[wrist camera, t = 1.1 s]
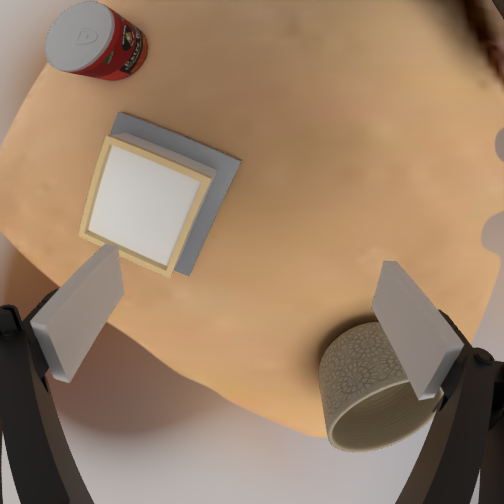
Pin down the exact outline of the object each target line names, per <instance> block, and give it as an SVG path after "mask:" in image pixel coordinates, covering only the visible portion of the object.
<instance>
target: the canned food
mask: <svg viewBox="0 0 504 504" xmlns="http://www.w3.org/2000/svg"><path fill="white" fill-rule="evenodd" d="M146 53H147V42H146V38H145V36H144V34H143V33H142V32H141V31H140V30H139V29H138V28H137V27H135V26H134V25H132V24H131V23H130V22H128V21H127V20H126V19H124V18H123V17H122V16H120V15H119V14H117V13H116V12H115V11H113V10H112V9H110V8H109V7H107V6H106V5H104V4H101V3H99V2H95V1H85V2H81V3H78V4H76V5H74V6H71V7H70V8H68V9H67V10H66V11H64V12H63V13H62V14H61V15H60V16H59V17H58V18H57V19H56V21H55V22H54V23H53V25H52V26H51V28H50V30H49V32H48V35H47V38H46V42H45V54H46V58H47V60H48V62H49V63H50V64H51V66H52V67H54V68H56V69H58V70H60V71H64V72H69V73H73V74H79V75H84V76H89V77H94V78H99V79H104V80H119V79H122V78H125V77H127V76H129V75H131V74H132V73H134V72H135V71H136V70H137V69H138V68H139V67H140V66H141V64H142V63H143V61H144V59H145V57H146Z"/></svg>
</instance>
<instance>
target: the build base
mask: <svg viewBox="0 0 504 504" xmlns="http://www.w3.org/2000/svg"><path fill="white" fill-rule="evenodd" d="M241 161H242V160H240V159H237V158H235V157H233V156H231V155H228V154H226V153H224V152H222V151H219V150H217V149H215V148H213V147H210V146H208V145H206V144H203V143H201V142H199V141H196V140H194V139H191V138H189V137H187V136H184V135H182V134H179V133H177V132H174V131H172V130H169V129H167V128H164V127H162V126H159V125H157V124H154V123H151V122H149V121H146V120H143V119H141V118H138V117H135V116H133V115H130V114H127V113H124V112H118V115H117V117H116V120H115V123H114V125H113V128H112V131H111V134H110V135H106V137H105V140H104V143H103V146H102V149H101V152H100V155H99V158H98V161H97V165H96V168H95V171H94V175H93V178H92V182H91V185H90V189H89V193H88V197H87V201H86V205H85V209H84V213H83V217H82V222H81V226H80V231H79V236H80V237H82V238H84V239H86V240H88V241H90V242H92V243H94V244H96V245H98V246H100V247H102V246H103V245H104V244H112V245H118V250H119V256H121V257H123V258H126V259H128V260H130V261H132V262H134V263H136V264H139V265H141V266H143V267H145V268H147V269H150V270H152V271H154V272H156V273H159V274H161V275H163V276H165V277H168V278H170V277H171V275H172V273H173V271H174V270H176V271H178V272H180V273H182V274H185V275H187V276H190V273H191V271H192V269H193V266H194V264H195V262H196V259H197V257H198V255H199V252H200V250H201V248H202V246H203V243H204V241H205V239H206V237H207V234H208V232H209V230H210V228H211V225H212V223H213V221H214V219H215V217H216V214H217V212H218V210H219V208H220V206H221V204H222V201H223V199H224V197H225V195H226V193H227V191H228V189H229V187H230V184H231V182H232V180H233V178H234V176H235V174H236V172H237V170H238V168H239V166H240V163H241Z"/></svg>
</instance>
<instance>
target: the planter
mask: <svg viewBox="0 0 504 504" xmlns="http://www.w3.org/2000/svg"><path fill="white" fill-rule="evenodd" d="M319 387H320V393H321V398H322V405H323V412H324V418H325V424H326V430H327V435H328V439H329V442H330V443H331V444H332V445H333V446H334V447H336V448H337V449H340V450H342V451H347V452H368V451H373V450H378V449H382V448H385V447H388V446H391V445H393V444H396V443H398V442H400V441H402V440H404V439H406V438H408V437H409V436H411V435H413V434H414V433H416V432H417V431H419V430H420V429H421V428H422V427H424V426H425V425H426V424H427V423H428V422H429V421H430V420H431V419H432V418H433V417H434V416H435V413H436V411H435V412H432V411H433V409H434V408H435V406H436V405H437V403H438V402H439V400H440V399H441V397H442V396H443V394H444V392H443V390H442V388H441V387H440V388H439V390H438V392H437V393H436V395H435V396H434V398H429V399H423V400H418V398H417V396H416V394H415V391H414V389H413V387H412V385H411V383H410V381H409V379H408V377H407V375H406V373H405V371H404V369H403V367H402V365H401V363H400V361H399V359H398V357H397V355H396V353H395V351H394V349H393V347H392V345H391V343H390V341H389V339H388V337H387V336H386V334H385V332H384V330H383V328H382V326H381V324H380V322H369V323H364V324H361V325H358V326H355V327H353V328H351V329H349V330H347V331H346V332H344V333H343V334H341V335H340V336H339V337H337V338H336V339H335V340H334V341H333V342H332V343H331V344H330V346H329V347H328V348H327V350H326V351H325V353H324V355H323V357H322V359H321V362H320V366H319ZM436 410H437V409H436Z"/></svg>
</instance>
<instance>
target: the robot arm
mask: <svg viewBox="0 0 504 504" xmlns="http://www.w3.org/2000/svg"><path fill="white" fill-rule="evenodd" d="M492 1H493V3H494V4H495V6H496V7H497V9H498V11H499V12H500V14H501V15H502V17H503V19H504V0H492ZM123 295H124V287H123V280H122V274H121V266H120V259H119V250H118V245H112V244H104V245H103V246H102V247H101V248H100V249H99V250H98V251H97V252H96V253H95V254H94V255H93V256H92V257H90V258H89V259H88V260H87V261H86V262H85V263H84V264H83V265H82V266H81V267H80V268H79V269H78V270H77V271H76V272H75V273H74V274H73V275H72V276H71V277H70V278H69V279H68V281H67V282H66V283H65V284H64V285H63V286H62V287H61V288H60V289H55V290H54V291H52V292H51V293H49V294H47V295H46V296H45V297H44V299H43V300H42V301H41V302H40V303H39V304H38V305H37V306H36V308H34V309H33V310H32V311H31V313H30V314H29V315H28V316H27V317H26V318H25V319H24V320H23V321H22V320H21V318H20V315H19V312H18V309H17V307H15V306H14V305H3V306H0V504H3V499H2V477H1V454H2V451H1V450H2V432H3V435H4V440H5V446H6V450H7V455H8V460H9V464H10V468H11V472H12V476H13V479H14V483H15V486H16V490H17V493H18V496H19V499H20V502H21V504H94V502H93V500H92V498H91V496H90V494H89V492H88V490H87V488H86V486H85V484H84V482H83V480H82V478H81V476H80V473H79V471H78V468H77V466H76V464H75V461H74V459H73V456H72V454H71V451H70V449H69V446H68V444H67V441H66V438H65V436H64V433H63V430H62V427H61V424H60V421H59V418H58V415H57V412H56V409H55V405H54V402H53V398H52V395H51V392H50V387H49V383H48V380H47V378H46V376H45V373H46V372H47V370H48V368H49V369H50V371H51V373H52V375H53V377H54V378H55V379H58V380H61V381H65V382H68V383H70V381H71V379H72V378H73V376H74V374H75V372H76V371H77V369H78V367H79V365H80V364H81V362H82V360H83V359H84V357H85V355H86V354H87V352H88V350H89V348H90V347H91V345H92V343H93V342H94V340H95V339H96V337H97V335H98V334H99V332H100V330H101V329H102V327H103V326H104V324H105V322H106V321H107V319H108V318H109V316H110V315H111V313H112V311H113V310H114V308H115V307H116V305H117V304H118V302H119V301H120V299H121V298H122V296H123ZM371 308H372V310H373V311H374V313H375V315H376V317H377V319H378V321H379V322H380V324H381V326H382V328H383V330H384V332H385V334H386V336H387V337H388V339H389V341H390V343H391V345H392V347H393V349H394V351H395V353H396V355H397V357H398V359H399V361H400V363H401V365H402V367H403V369H404V371H405V373H406V375H407V377H408V379H409V381H410V383H411V385H412V387H413V389H414V391H415V394H416V396H417V398H418V400H423V399H429V398H434V396H435V395H436V393H437V392H438V390H439V388H440V387H441V388H442V390H443V392H444V394H443V396H442V397H441V399H440V400H439V402H438V403H437V405H436V406H435V408H434V409H433V411H432V412H435V411H436V413H435V416H434V419H433V422H432V425H431V427H430V430H429V432H428V435H427V438H426V440H425V442H424V445H423V447H422V450H421V452H420V455H419V457H418V459H417V461H416V463H415V466H414V468H413V470H412V472H411V474H410V476H409V478H408V480H407V482H406V484H405V486H404V488H403V490H402V492H401V494H400V496H399V498H398V499H397V501H396V503H395V504H470V501H471V498H472V495H473V492H474V488H475V485H476V481H477V478H478V474H479V470H480V488H479V489H480V490H479V502H478V504H504V362H500V361H495V360H494V358H493V356H492V355H491V354H490V353H489V352H487V351H486V350H484V349H481V348H473V347H472V346H471V345H470V343H469V342H468V341H467V339H466V338H465V337H464V335H463V334H462V333H461V332H460V330H458V328H457V326H456V325H455V324H454V323H453V321H452V320H451V319H450V318H449V316H448V315H446V314H445V313H444V312H442V311H441V310H437V308H436V307H435V306H434V305H433V303H432V302H431V301H430V300H429V299H428V297H427V296H426V295H425V294H424V293H423V291H422V290H421V289H420V288H419V287H418V285H417V284H416V283H415V282H414V281H413V280H412V278H411V277H410V276H409V275H408V274H407V273H406V271H405V270H404V269H403V268H402V267H401V266H400V265H399V264H398V262H396V261H384V262H383V266H382V270H381V274H380V278H379V281H378V285H377V289H376V292H375V296H374V299H373V303H372V306H371ZM436 409H437V410H436Z"/></svg>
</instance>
